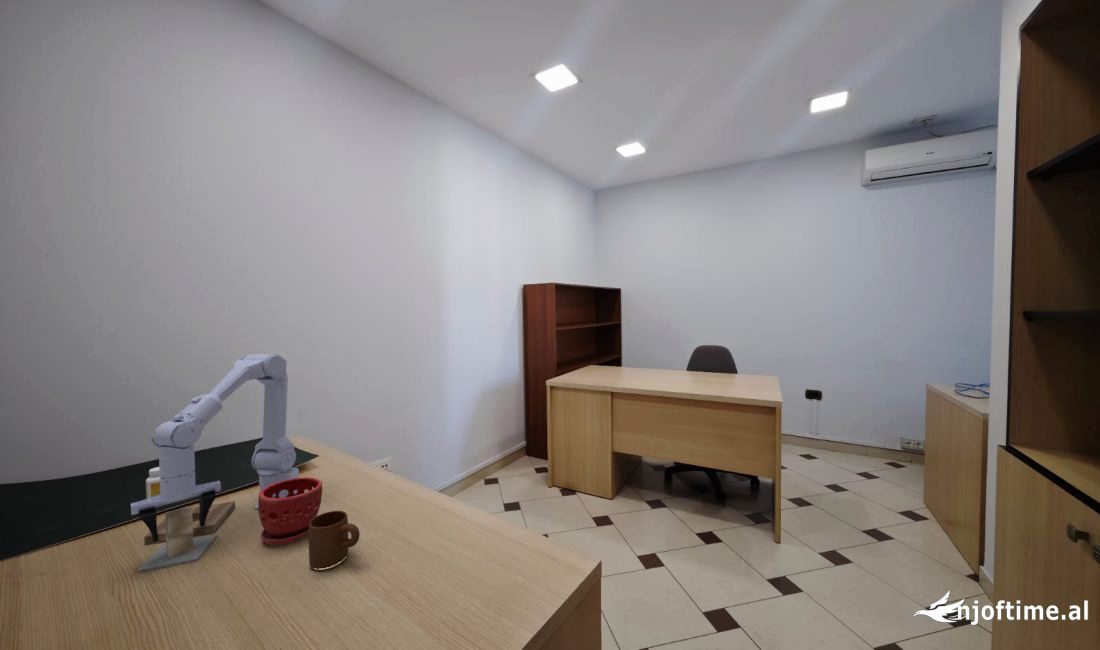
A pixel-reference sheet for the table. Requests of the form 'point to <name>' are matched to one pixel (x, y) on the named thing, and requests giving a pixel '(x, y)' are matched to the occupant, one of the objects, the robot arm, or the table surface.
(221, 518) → the brown square hole board
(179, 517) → the maple plug
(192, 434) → the robot arm
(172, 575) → the table surface
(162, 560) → the pad
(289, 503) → the plant pot
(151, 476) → the supplement bottle
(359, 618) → the table surface
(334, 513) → the mug
